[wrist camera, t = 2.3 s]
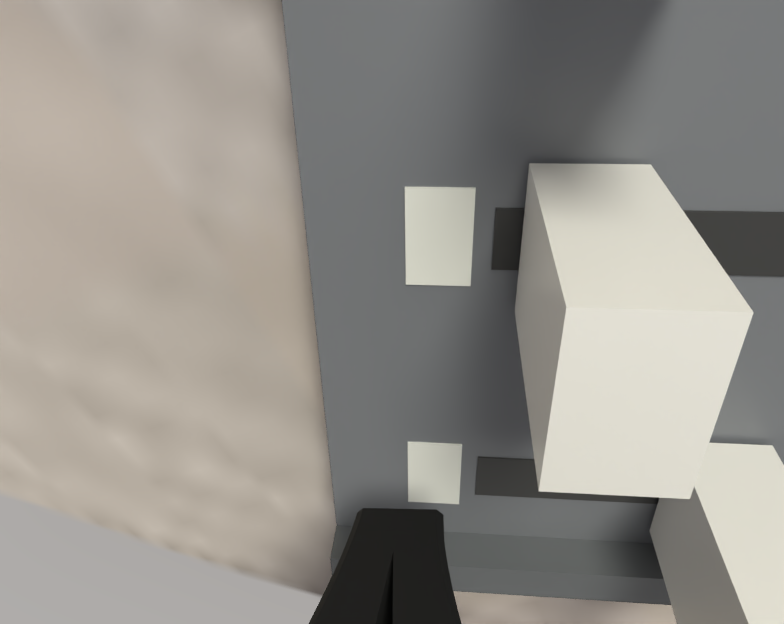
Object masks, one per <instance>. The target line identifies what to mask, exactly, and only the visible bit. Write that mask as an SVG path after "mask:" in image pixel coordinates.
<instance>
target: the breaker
mask: <svg viewBox="0 0 784 624" xmlns="http://www.w3.org/2000/svg"><path fill="white" fill-rule="evenodd" d="M753 313H754V312H753V311H752V309H751V308H750V306H749V305H748V304H747V302H746V301H745V299H744V298H743V296H742V295H741V293H740V292H739V291H738V289H737V288H736V286H735V285H734V283H733V282H732V281H731V279H730V278H729V276H728V275H727V273H726V272H725V270H724V269H723V268H722V266H721V265H720V263H719V262H718V260H717V259H716V257H715V256H714V255H713V253H712V252H711V250H710V249H709V247H708V246H707V245H706V243H705V242H704V240H703V239H702V237H701V236H700V234H699V233H698V232H697V230H696V229H695V227H694V226H693V224H692V223H691V221H690V220H689V219H688V217H687V216H686V214H685V213H684V211H683V210H682V209H681V207H680V206H679V204H678V203H677V201H676V200H675V198H674V197H673V196H672V194H671V193H670V191H669V190H668V188H667V187H666V185H665V184H664V183H663V181H662V180H661V178H660V177H659V175H658V174H657V173H656V171H655V170H654V168H653V167H652V165H651V164H559V163H529V171H528V181H527V191H526V201H525V211H524V222H523V232H522V242H521V252H520V262H519V272H518V282H517V292H516V302H515V318H516V326H517V333H518V340H519V348H520V355H521V363H522V370H523V378H524V385H525V393H526V400H527V408H528V415H529V423H530V430H531V438H532V445H533V453H534V460H535V468H536V475H537V483H538V490H539V491H540V492H560V493H580V494H599V495H619V496H638V497H658V498H678V499H690V497H691V494H692V491H693V488H694V485H695V483H696V480H697V477H698V474H699V471H700V468H701V465H702V462H703V459H704V456H705V453H706V450H707V447H708V445H709V442H710V439H711V436H712V433H713V430H714V427H715V424H716V421H717V418H718V415H719V412H720V409H721V407H722V404H723V401H724V398H725V395H726V392H727V389H728V386H729V383H730V380H731V377H732V374H733V371H734V369H735V366H736V363H737V360H738V357H739V354H740V351H741V348H742V345H743V342H744V339H745V336H746V333H747V331H748V328H749V325H750V322H751V319H752V316H753Z"/></svg>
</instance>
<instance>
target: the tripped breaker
mask: <svg viewBox="0 0 784 624" xmlns="http://www.w3.org/2000/svg"><path fill="white" fill-rule="evenodd" d="M649 531H650V534H651V538H652V541H653V545H654V548H655V551H656V555H657V558H658V561H659V565H660V568H661V571H662V575H663V578H664V582H665V585H666V588H667V592H668V595H669V598H670V602H671V605H672V608H673V612H674V615H675V619H676V622H677V624H784V465H783V463H782V461H781V459H780V458H779V456H778V454H777V452H776V451H775V449H774V447H773V445H752V444H729V443H709V445H708V447H707V450H706V453H705V456H704V459H703V462H702V465H701V468H700V471H699V474H698V477H697V480H696V483H695V485H694V488H693V491H692V494H691V497H690V499H678V498H659V501H658V504H657V507H656V511H655V514H654V517H653V521H652V524H651V527H650V530H649Z"/></svg>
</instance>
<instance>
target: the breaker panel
mask: <svg viewBox="0 0 784 624" xmlns="http://www.w3.org/2000/svg"><path fill="white" fill-rule="evenodd" d="M282 7H283V17H284V26H285V36H286V45H287V55H288V65H289V74H290V84H291V93H292V103H293V112H294V122H295V131H296V141H297V151H298V160H299V170H300V179H301V189H302V198H303V208H304V217H305V227H306V237H307V246H308V256H309V265H310V275H311V284H312V294H313V303H314V313H315V323H316V332H317V342H318V351H319V361H320V370H321V380H322V389H323V399H324V409H325V418H326V428H327V437H328V447H329V456H330V466H331V475H332V485H333V495H334V504H335V514H336V523H337V527H336V532H335V537H334V543H333V548H332V553H331V558H330V560H331V568H332V575H333V573H334V571H335V569H336V566H337V564H338V562H339V560H340V557H341V555H342V553H343V550H344V548H345V545H346V543H347V540H348V538H349V535H350V532H351V530H352V527H353V524H354V521H355V518H356V515H357V512H359V511H360V510H361V509H363V508H389V509H437V510H438V511H439V512H441V513H442V514H443V518H444V542H445V550H446V557H447V563H448V568H449V573H450V578H451V583H452V588H453V591H461V592H477V593H493V594H508V595H524V596H539V597H555V598H570V599H586V600H602V601H617V602H633V603H648V604H664V605H671V602H670V598H669V595H668V592H667V588H666V585H665V582H664V578H663V575H662V571H661V568H660V565H659V561H658V558H657V555H656V551H655V548H654V545H653V541H652V538H651V534H650V531H649V530H650V527H651V524H652V521H653V517H654V514H655V511H656V507H657V504H658V501H659V498H658V497H638V496H619V495H599V494H580V493H560V492H540V491H539V490H538V483H537V475H536V468H535V460H534V453H533V445H532V438H531V430H530V423H529V415H528V408H527V400H526V393H525V385H524V378H523V370H522V363H521V355H520V348H519V340H518V333H517V326H516V318H515V302H516V292H517V282H518V272H519V262H520V252H521V242H522V232H523V222H524V211H525V201H526V191H527V181H528V171H529V163H559V164H651V165H652V167H653V168H654V170H655V171H656V173H657V174H658V175H659V177H660V178H661V180H662V181H663V183H664V184H665V185H666V187H667V188H668V190H669V191H670V193H671V194H672V196H673V197H674V198H675V200H676V201H677V203H678V204H679V206H680V207H681V209H682V210H683V211H684V213H685V214H686V216H687V217H688V219H689V220H690V221H691V223H692V224H693V226H694V227H695V229H696V230H697V232H698V233H699V234H700V236H701V237H702V239H703V240H704V242H705V243H706V245H707V246H708V247H709V249H710V250H711V252H712V253H713V255H714V256H715V257H716V259H717V260H718V262H719V263H720V265H721V266H722V268H723V269H724V270H725V272H726V273H727V275H728V276H729V278H730V279H731V281H732V282H733V283H734V285H735V286H736V288H737V289H738V291H739V292H740V293H741V295H742V296H743V298H744V299H745V301H746V302H747V304H748V305H749V306H750V308H751V309H752V311H753V312H754V313H753V316H752V319H751V322H750V325H749V328H748V331H747V333H746V336H745V339H744V342H743V345H742V348H741V351H740V354H739V357H738V360H737V363H736V366H735V369H734V371H733V374H732V377H731V380H730V383H729V386H728V389H727V392H726V395H725V398H724V401H723V404H722V407H721V409H720V412H719V415H718V418H717V421H716V424H715V427H714V430H713V433H712V436H711V439H710V442H709V443H729V444H752V445H773V447H774V449H775V451H776V452H777V454H778V456H779V458H780V459H781V461H782V463H783V465H784V0H282Z"/></svg>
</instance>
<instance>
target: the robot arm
mask: <svg viewBox="0 0 784 624" xmlns="http://www.w3.org/2000/svg"><path fill="white" fill-rule="evenodd" d="M309 624H461V620H460V617H459V613H458V609H457V605H456V601H455V597H454V593H453V588H452V583H451V578H450V573H449V568H448V563H447V557H446V550H445V542H444V518H443V514H442V513H441V512H439V511H438V510H437V509H389V508H363V509H361V510H360V511H359V512H357V515H356V518H355V521H354V524H353V527H352V530H351V532H350V535H349V538H348V540H347V543H346V545H345V548H344V550H343V553H342V555H341V557H340V560H339V562H338V564H337V566H336V569H335V571H334V573H333V575H332V577H331V580H330V582H329V584H328V586H327V588H326V590H325V592H324V594H323V596H322V598H321V600H320V602H319V604H318V606H317V608H316V611H315V612H314V615H313V616H312V618H311V620H310V622H309Z"/></svg>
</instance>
